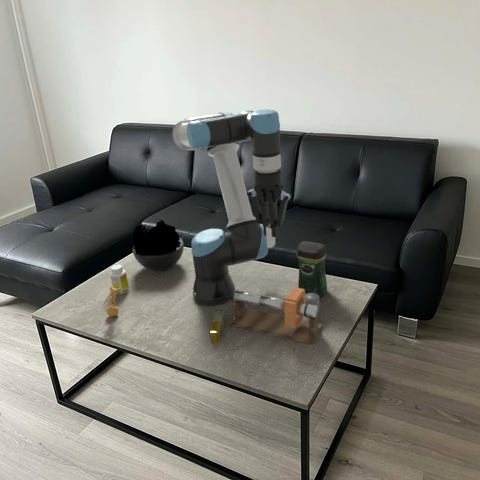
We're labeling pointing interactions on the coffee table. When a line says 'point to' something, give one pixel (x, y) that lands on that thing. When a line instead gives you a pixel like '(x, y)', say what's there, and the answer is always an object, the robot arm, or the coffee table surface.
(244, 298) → the pipe
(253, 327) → the stand
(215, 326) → the medication box
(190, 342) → the coffee table surface
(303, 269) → the coffee jar
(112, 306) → the figurine
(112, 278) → the supplement bottle
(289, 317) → the ring
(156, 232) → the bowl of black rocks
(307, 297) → the gray egg
